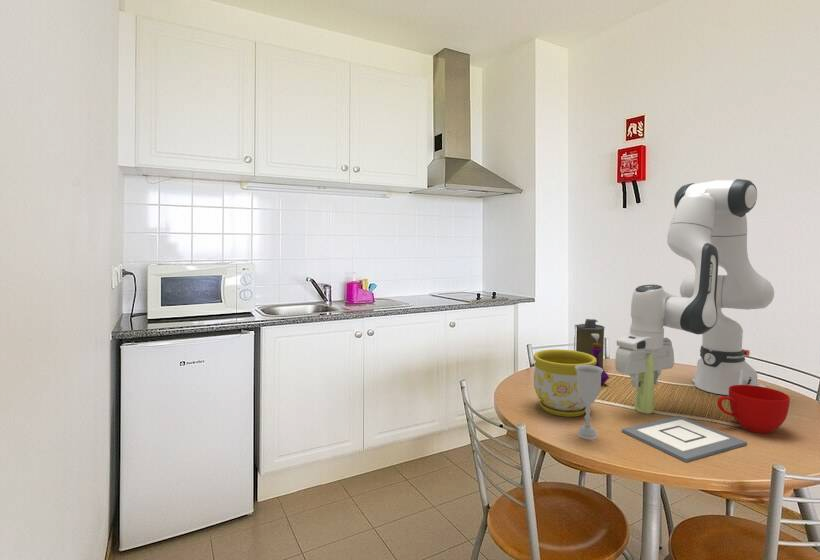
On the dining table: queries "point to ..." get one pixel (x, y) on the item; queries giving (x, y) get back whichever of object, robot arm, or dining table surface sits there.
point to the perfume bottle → (596, 351)
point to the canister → (589, 338)
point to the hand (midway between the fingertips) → (644, 385)
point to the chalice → (588, 395)
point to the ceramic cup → (757, 407)
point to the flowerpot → (560, 381)
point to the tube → (646, 388)
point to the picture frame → (683, 438)
